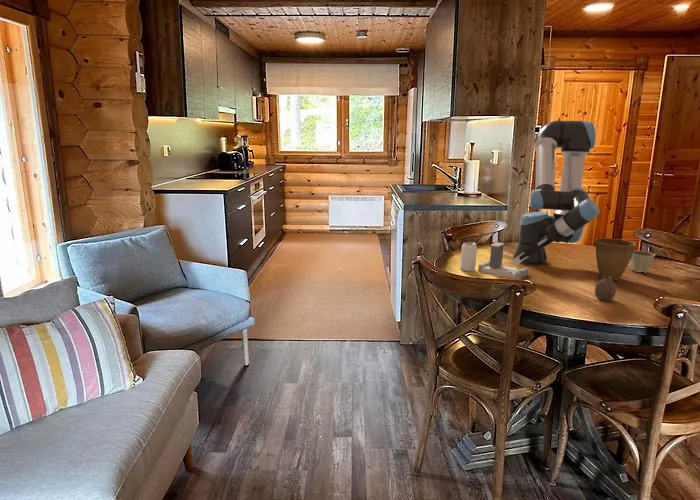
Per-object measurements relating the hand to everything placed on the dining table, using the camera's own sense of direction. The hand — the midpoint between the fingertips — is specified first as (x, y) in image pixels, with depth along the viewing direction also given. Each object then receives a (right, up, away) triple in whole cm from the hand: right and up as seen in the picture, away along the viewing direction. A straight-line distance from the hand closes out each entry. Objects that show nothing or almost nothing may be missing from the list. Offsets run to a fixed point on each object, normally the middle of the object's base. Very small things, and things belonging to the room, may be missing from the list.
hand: (515, 262), depth 208 cm
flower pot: (+60, -5, +12) cm, 61 cm away
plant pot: (+41, -7, +1) cm, 41 cm away
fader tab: (-7, -3, +6) cm, 10 cm away
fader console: (-4, -5, +4) cm, 8 cm away
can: (-18, -4, +8) cm, 20 cm away
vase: (+24, -13, -26) cm, 38 cm away
